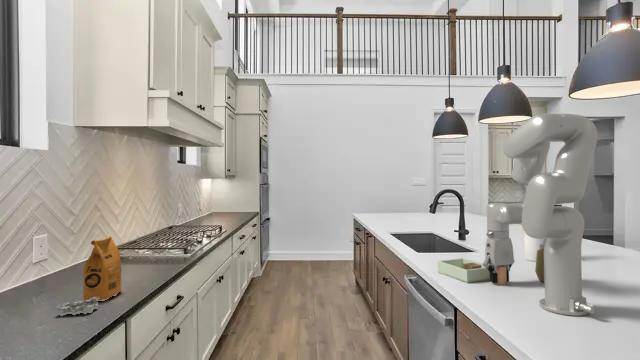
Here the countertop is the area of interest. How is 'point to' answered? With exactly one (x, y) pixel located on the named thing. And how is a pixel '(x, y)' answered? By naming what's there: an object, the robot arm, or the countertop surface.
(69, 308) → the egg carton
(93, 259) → the coffee package
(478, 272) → the tote
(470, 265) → the walnut cube
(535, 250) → the alcohol
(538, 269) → the squeeze bottle
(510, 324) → the countertop surface
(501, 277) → the terracotta cylinder
